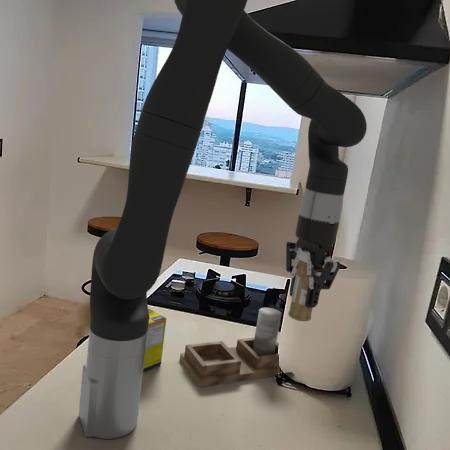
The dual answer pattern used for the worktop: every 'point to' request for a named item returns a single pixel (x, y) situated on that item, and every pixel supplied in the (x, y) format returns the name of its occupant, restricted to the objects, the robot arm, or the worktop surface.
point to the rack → (237, 355)
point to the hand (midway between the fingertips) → (302, 301)
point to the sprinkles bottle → (301, 291)
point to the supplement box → (154, 340)
